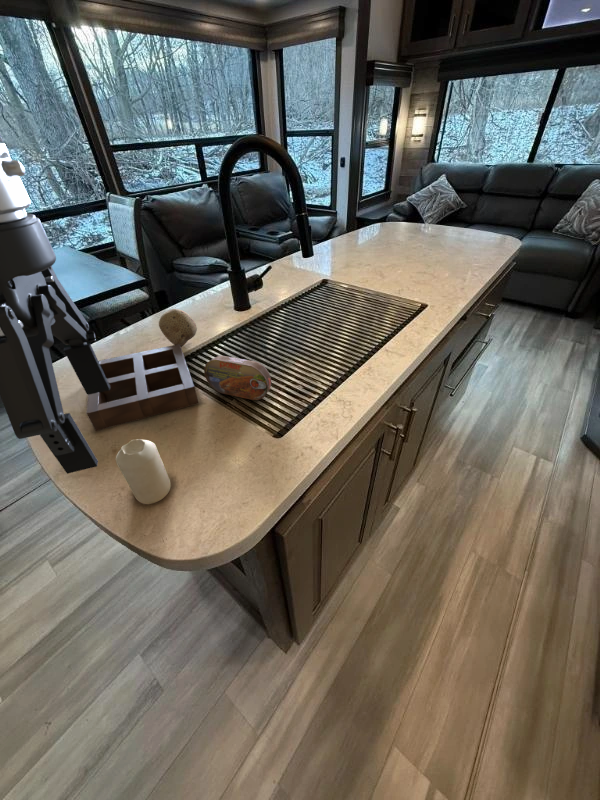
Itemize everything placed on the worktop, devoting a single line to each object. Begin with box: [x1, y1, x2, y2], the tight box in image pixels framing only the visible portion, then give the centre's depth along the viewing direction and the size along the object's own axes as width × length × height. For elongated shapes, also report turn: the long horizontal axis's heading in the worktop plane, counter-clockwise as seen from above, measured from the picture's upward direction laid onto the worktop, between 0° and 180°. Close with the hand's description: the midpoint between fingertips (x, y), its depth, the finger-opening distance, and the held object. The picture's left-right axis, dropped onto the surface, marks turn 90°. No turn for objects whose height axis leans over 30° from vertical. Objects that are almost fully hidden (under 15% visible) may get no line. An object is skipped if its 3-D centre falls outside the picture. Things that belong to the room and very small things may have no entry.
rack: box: [86, 344, 200, 432], centre depth 73 cm, size 20×20×4 cm
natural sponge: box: [158, 308, 198, 347], centre depth 87 cm, size 9×9×10 cm
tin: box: [203, 355, 272, 401], centre depth 70 cm, size 15×3×8 cm, turn 70°
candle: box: [115, 438, 172, 505], centre depth 50 cm, size 6×6×10 cm
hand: (92, 424), depth 38 cm, fingers open, 13 cm apart
